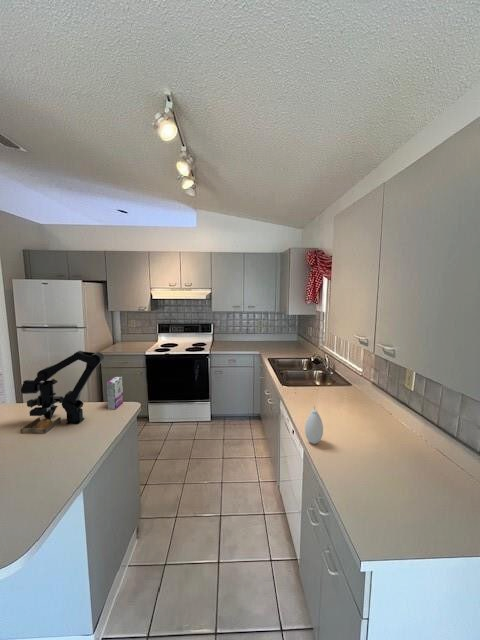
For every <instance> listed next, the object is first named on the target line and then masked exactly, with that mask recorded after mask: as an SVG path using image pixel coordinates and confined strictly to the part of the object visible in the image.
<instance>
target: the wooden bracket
mask: <svg viewBox="0 0 480 640" xmlns="http://www.w3.org/2000/svg"><path fill="white" fill-rule="evenodd" d="M40 420H41V416H38V417H37V418H36V419H34V420H32V421H31V422H29V423H28V424H26V425H25V426H23V427H21V428H20V433H21V434H29V433H30V434H31V433H32V434H35V435H36V434H37V435H38V434H40V435H41V434H42V435H45V434H47V433H48V432H49V431H51V430H52V429H53V428H55V427H56V426H57V425H58V424H60V423H62V417H61V416H60V417H58V418H57V419H55V420H53V421H52V423H51V424H49V425H48V426H47V427H45V428H34V426H36V425H37V424H38V422H39V421H40ZM32 434H31V435H32Z"/></svg>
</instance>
